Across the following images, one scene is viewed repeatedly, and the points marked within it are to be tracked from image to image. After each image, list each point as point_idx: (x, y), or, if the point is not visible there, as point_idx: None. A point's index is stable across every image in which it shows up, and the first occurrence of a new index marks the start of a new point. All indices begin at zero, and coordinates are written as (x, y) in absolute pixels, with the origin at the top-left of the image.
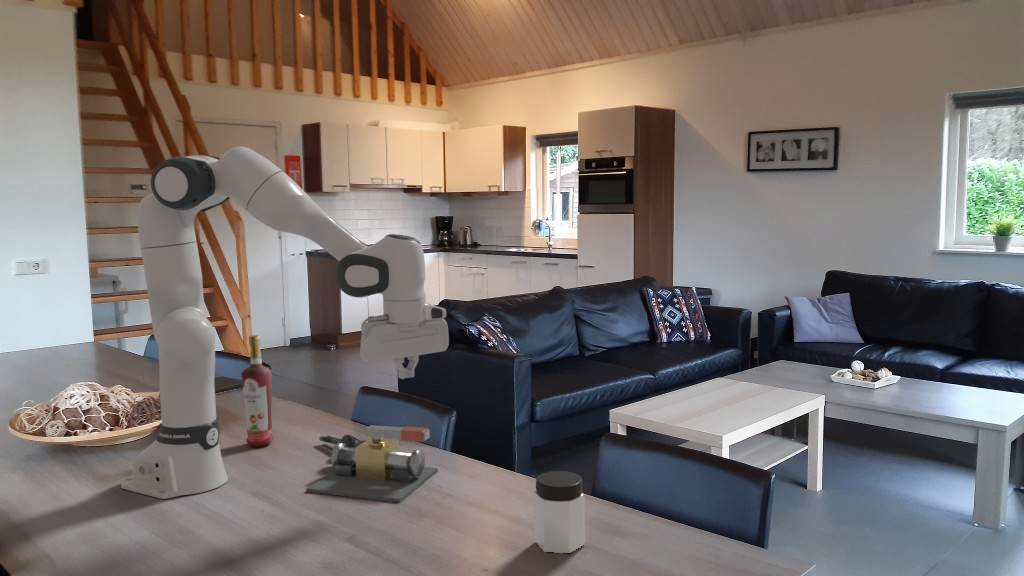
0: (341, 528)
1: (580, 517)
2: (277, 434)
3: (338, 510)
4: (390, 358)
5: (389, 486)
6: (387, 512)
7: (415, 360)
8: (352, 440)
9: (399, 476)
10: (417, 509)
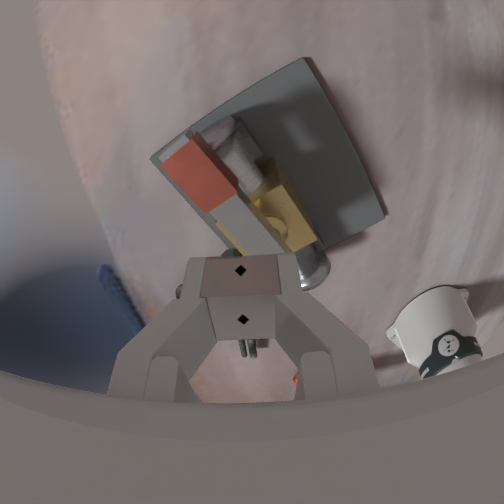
0: (430, 51)
1: None
2: (276, 384)
3: (398, 112)
4: (502, 364)
5: (281, 127)
6: (345, 39)
7: (152, 358)
8: None
9: (253, 137)
10: (293, 9)
